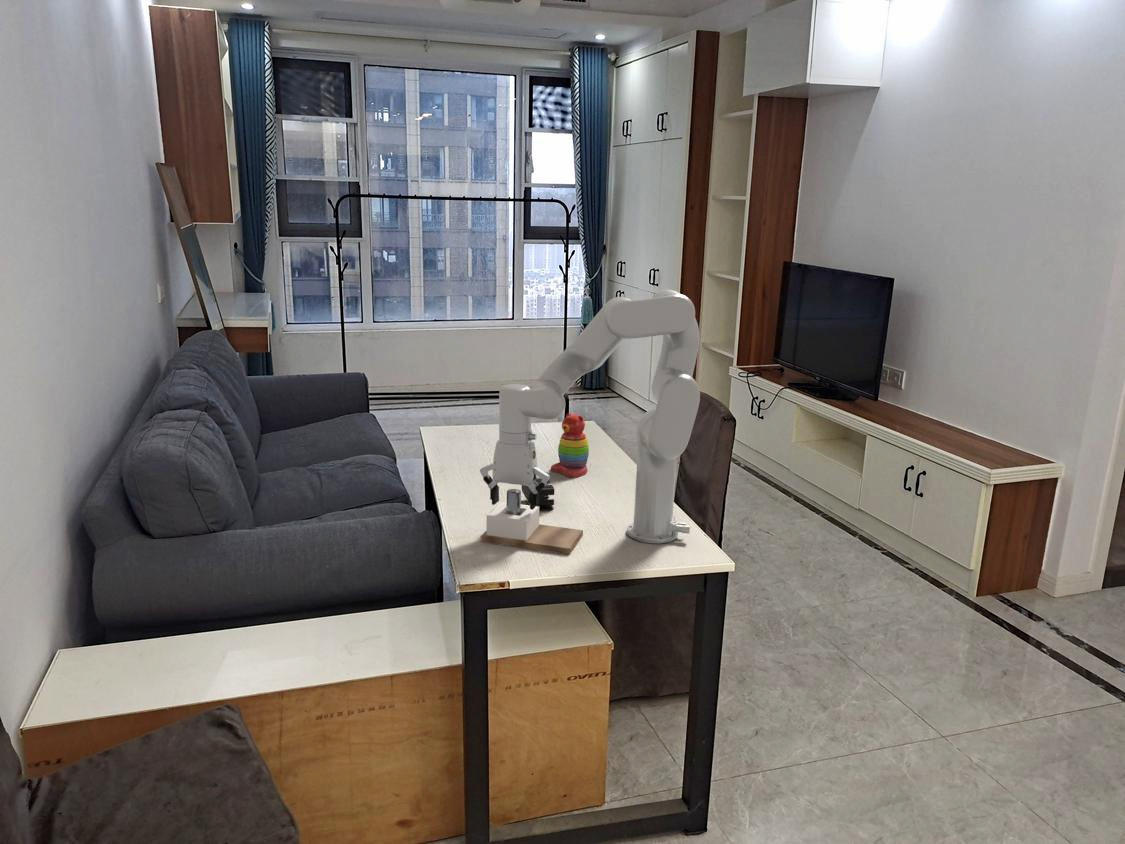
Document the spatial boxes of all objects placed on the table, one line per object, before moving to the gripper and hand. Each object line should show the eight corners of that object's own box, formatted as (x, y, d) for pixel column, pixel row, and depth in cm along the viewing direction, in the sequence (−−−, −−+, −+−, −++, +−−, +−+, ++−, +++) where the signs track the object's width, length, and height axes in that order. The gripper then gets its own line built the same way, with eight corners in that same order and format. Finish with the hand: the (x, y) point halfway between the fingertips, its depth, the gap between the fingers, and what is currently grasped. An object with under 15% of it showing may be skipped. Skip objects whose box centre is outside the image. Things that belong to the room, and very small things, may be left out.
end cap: (520, 499, 228) (521, 476, 226) (546, 498, 229) (546, 475, 228) (527, 512, 218) (528, 488, 217) (554, 511, 220) (555, 486, 218)
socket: (538, 525, 205) (539, 506, 204) (526, 540, 196) (526, 520, 195) (500, 520, 208) (500, 501, 206) (486, 535, 198) (486, 515, 197)
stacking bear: (547, 469, 254) (549, 413, 250) (572, 464, 261) (574, 409, 256) (571, 478, 246) (573, 420, 242) (596, 472, 253) (598, 416, 249)
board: (582, 535, 204) (582, 530, 203) (569, 554, 192) (570, 548, 192) (498, 524, 209) (498, 518, 209) (480, 541, 198) (480, 535, 198)
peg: (521, 528, 203) (522, 489, 201) (517, 533, 200) (518, 494, 197) (508, 526, 204) (509, 488, 201) (504, 531, 201) (504, 492, 198)
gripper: (554, 436, 197) (552, 504, 202) (486, 429, 202) (486, 496, 206) (545, 444, 190) (543, 515, 194) (474, 437, 195) (474, 506, 199)
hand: (514, 505), depth 200 cm, fingers open, 9 cm apart
